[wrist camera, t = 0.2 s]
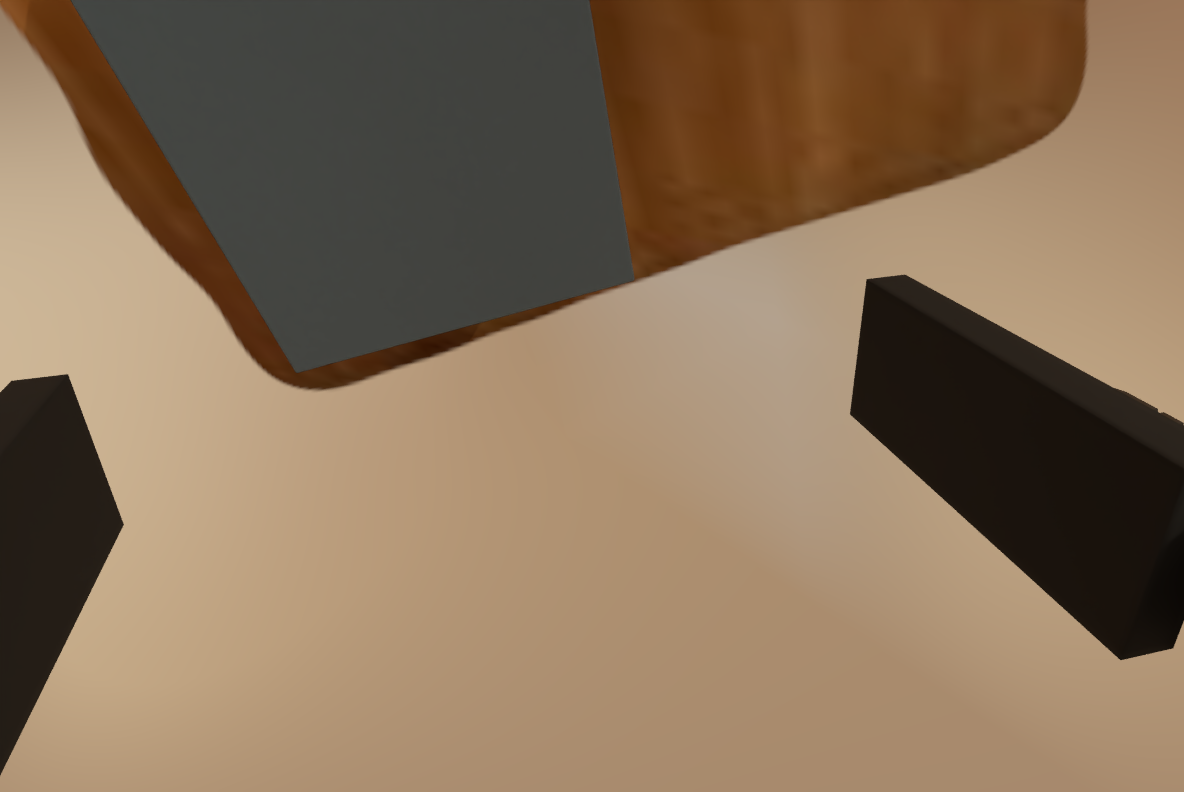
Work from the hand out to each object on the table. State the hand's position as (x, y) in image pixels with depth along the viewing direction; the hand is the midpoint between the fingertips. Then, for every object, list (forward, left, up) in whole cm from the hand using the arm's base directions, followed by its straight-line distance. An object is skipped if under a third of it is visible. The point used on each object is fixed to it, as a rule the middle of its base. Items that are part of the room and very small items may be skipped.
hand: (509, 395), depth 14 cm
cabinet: (+3, +1, -27) cm, 27 cm away
